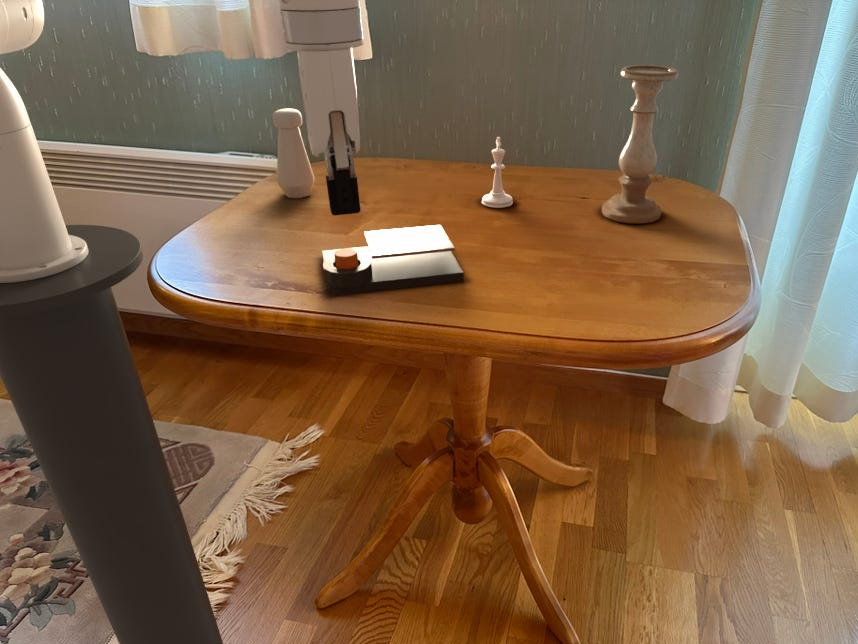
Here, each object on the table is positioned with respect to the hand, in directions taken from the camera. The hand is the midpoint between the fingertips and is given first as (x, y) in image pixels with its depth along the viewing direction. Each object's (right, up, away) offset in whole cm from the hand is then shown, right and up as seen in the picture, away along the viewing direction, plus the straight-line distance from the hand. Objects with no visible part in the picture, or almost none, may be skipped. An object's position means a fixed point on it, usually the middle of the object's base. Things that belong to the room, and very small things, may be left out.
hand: (345, 211), depth 75 cm
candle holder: (+38, +5, +27) cm, 46 cm away
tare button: (-1, -6, +4) cm, 7 cm away
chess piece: (+18, +8, +31) cm, 36 cm away
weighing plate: (+6, -2, +9) cm, 11 cm away
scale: (+4, -5, +9) cm, 11 cm away
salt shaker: (-14, +10, +34) cm, 38 cm away
